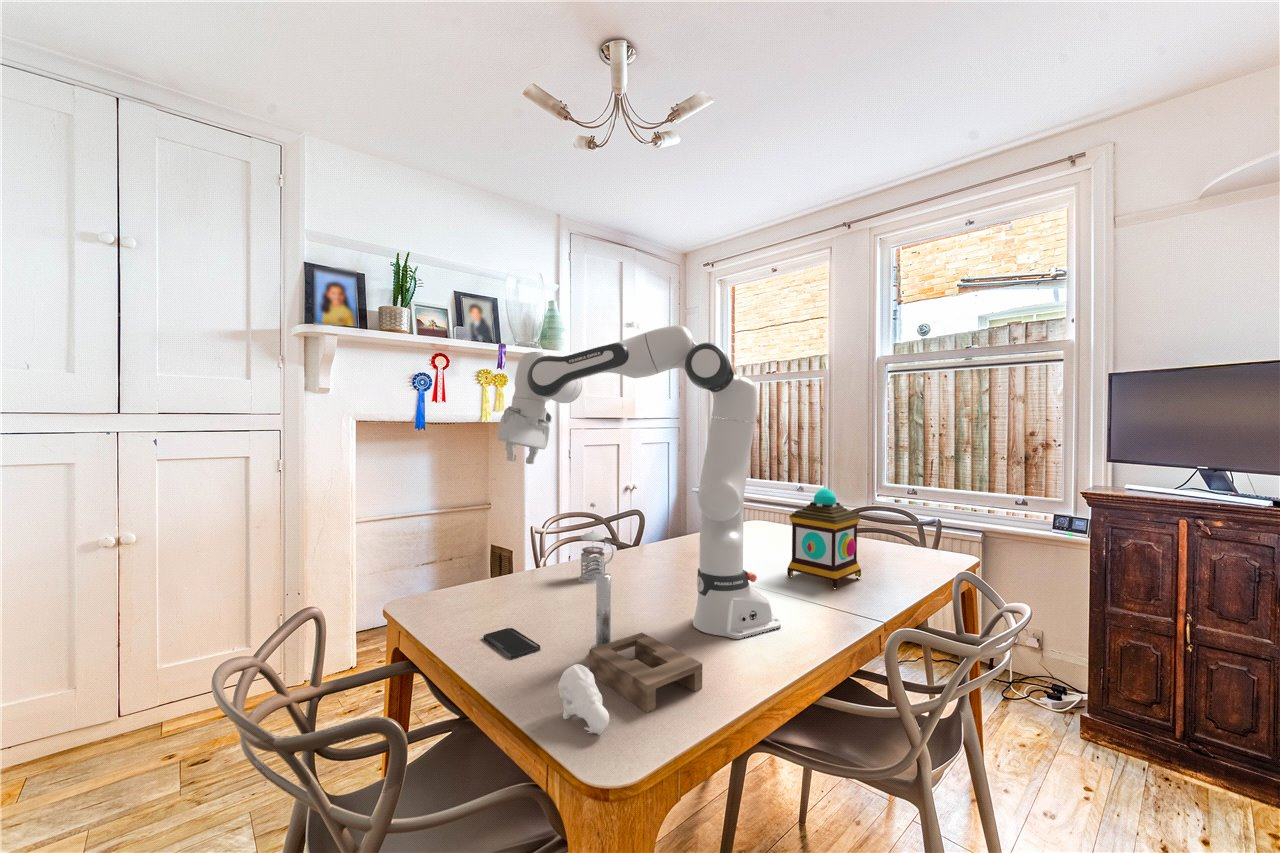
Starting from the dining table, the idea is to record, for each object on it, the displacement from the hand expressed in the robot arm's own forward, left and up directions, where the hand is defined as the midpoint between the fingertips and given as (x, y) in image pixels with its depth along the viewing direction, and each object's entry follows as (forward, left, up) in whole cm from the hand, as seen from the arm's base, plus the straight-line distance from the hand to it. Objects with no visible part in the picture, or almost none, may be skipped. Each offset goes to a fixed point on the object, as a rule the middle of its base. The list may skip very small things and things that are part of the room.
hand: (520, 462), depth 143 cm
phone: (+4, +18, -42) cm, 46 cm away
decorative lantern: (-99, -2, -41) cm, 107 cm away
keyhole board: (-20, +44, -41) cm, 64 cm away
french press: (-27, -25, -41) cm, 55 cm away
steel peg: (-15, +31, -41) cm, 53 cm away
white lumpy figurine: (-5, +55, -41) cm, 69 cm away
